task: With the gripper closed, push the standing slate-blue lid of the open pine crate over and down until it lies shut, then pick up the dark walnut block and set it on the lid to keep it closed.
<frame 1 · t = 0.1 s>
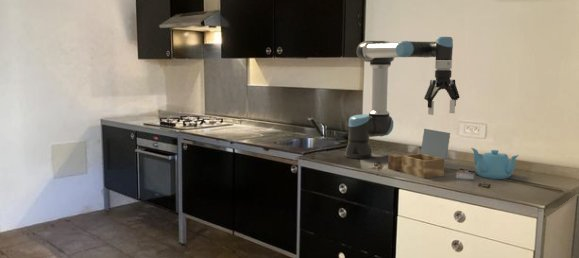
hand: (441, 113, 236), 28 cm above the countertop, fingers open, 13 cm apart
teapot: (491, 176, 229), on the countertop
block: (395, 169, 244), on the countertop
crate: (422, 173, 234), on the countertop
lid: (435, 143, 236), point 14 cm above the countertop, hinge at 98.0°
cup: (425, 167, 248), on the countertop
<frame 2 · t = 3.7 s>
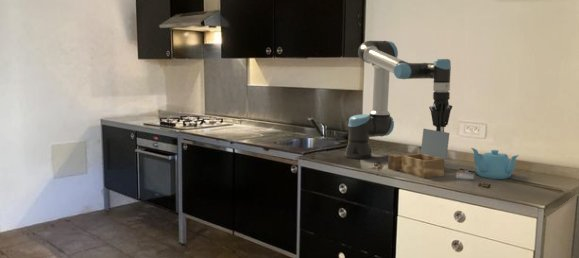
hand: (439, 140, 237), 15 cm above the countertop, fingers closed
lid: (434, 143, 235), point 14 cm above the countertop, hinge at 95.6°, touching gripper
everything else where it was.
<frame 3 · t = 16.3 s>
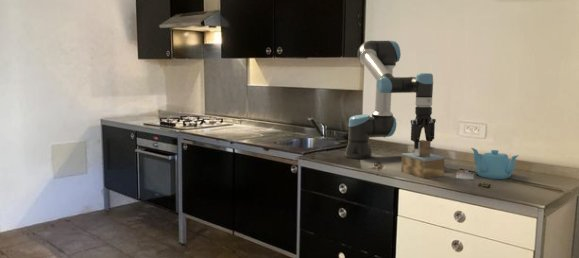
hand: (422, 155, 232), 9 cm above the countertop, fingers closed on block, 5 cm apart
block: (422, 155, 232), point 9 cm above the countertop, touching gripper, lid
lid: (422, 156, 233), point 8 cm above the countertop, hinge at -0.3°, touching block, gripper
everything else where it was.
when the fingers open (9 cm above the countertop, at t = 16.6 s): block stays where it is, resting on lid.
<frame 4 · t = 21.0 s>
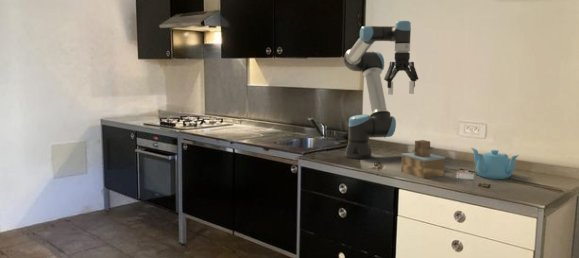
hand: (401, 94, 250), 37 cm above the countertop, fingers open, 13 cm apart
block: (422, 155, 232), point 9 cm above the countertop, touching lid
lid: (422, 156, 233), point 8 cm above the countertop, hinge at -0.3°, touching block
everything else where it was.
at the end: lid at +0° (first picture: +98°); block inside the target area on the crate (1.2 cm from its centre), point 8.9 cm above the crate's base; block tilted 0° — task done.
